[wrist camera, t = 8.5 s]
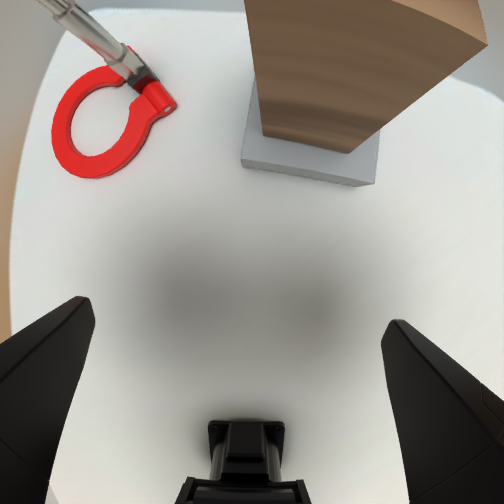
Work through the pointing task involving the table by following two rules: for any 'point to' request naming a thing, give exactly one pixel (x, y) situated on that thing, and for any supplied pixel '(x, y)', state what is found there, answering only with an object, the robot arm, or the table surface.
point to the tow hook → (114, 74)
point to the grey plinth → (306, 155)
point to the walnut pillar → (353, 62)
